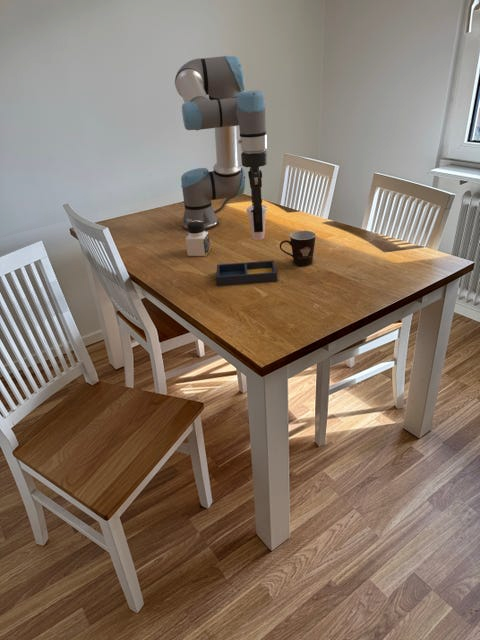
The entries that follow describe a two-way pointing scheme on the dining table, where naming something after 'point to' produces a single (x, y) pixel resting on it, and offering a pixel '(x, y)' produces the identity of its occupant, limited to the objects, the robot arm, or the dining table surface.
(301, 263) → the coffee mug
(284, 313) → the dining table surface
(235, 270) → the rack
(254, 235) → the smoothie
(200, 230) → the medicine bottle
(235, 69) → the robot arm
